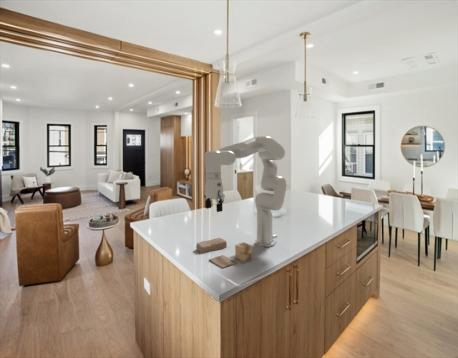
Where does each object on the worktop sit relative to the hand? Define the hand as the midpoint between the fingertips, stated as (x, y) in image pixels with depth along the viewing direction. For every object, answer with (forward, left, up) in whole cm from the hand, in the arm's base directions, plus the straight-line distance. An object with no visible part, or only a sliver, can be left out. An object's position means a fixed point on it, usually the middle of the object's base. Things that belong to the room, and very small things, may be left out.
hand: (213, 209), depth 130 cm
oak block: (-14, +6, -27) cm, 31 cm away
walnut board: (-3, +3, -28) cm, 28 cm away
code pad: (-14, +6, -28) cm, 32 cm away
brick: (-10, -17, -28) cm, 34 cm away
